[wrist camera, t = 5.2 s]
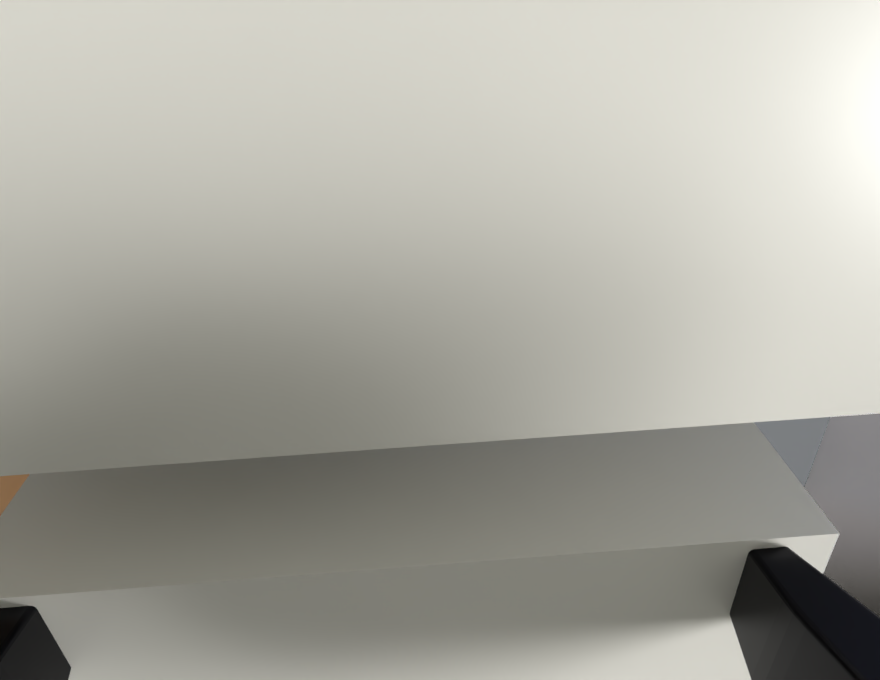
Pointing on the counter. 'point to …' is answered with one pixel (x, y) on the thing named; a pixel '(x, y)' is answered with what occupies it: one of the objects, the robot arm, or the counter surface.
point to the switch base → (786, 436)
